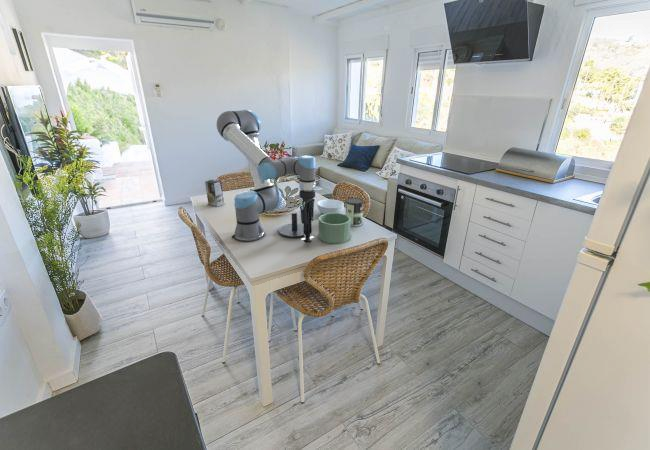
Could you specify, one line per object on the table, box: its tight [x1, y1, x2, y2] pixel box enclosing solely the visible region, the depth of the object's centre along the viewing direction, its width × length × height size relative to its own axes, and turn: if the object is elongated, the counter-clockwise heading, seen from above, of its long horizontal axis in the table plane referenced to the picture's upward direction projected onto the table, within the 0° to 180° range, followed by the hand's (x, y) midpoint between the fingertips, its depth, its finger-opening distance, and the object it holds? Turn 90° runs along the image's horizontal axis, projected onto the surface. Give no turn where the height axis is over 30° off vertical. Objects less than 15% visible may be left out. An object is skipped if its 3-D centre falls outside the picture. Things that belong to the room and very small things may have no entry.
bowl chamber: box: [318, 212, 351, 244], centre depth 167 cm, size 17×17×10 cm
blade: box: [300, 217, 315, 244], centre depth 158 cm, size 7×7×13 cm
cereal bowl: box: [316, 198, 345, 215], centre depth 198 cm, size 17×17×7 cm
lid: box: [278, 211, 305, 238], centre depth 172 cm, size 18×18×11 cm
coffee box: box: [204, 179, 225, 207], centre depth 211 cm, size 9×6×16 cm
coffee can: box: [344, 197, 364, 227], centre depth 183 cm, size 10×10×14 cm
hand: (307, 233), depth 159 cm, fingers closed on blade, 2 cm apart
